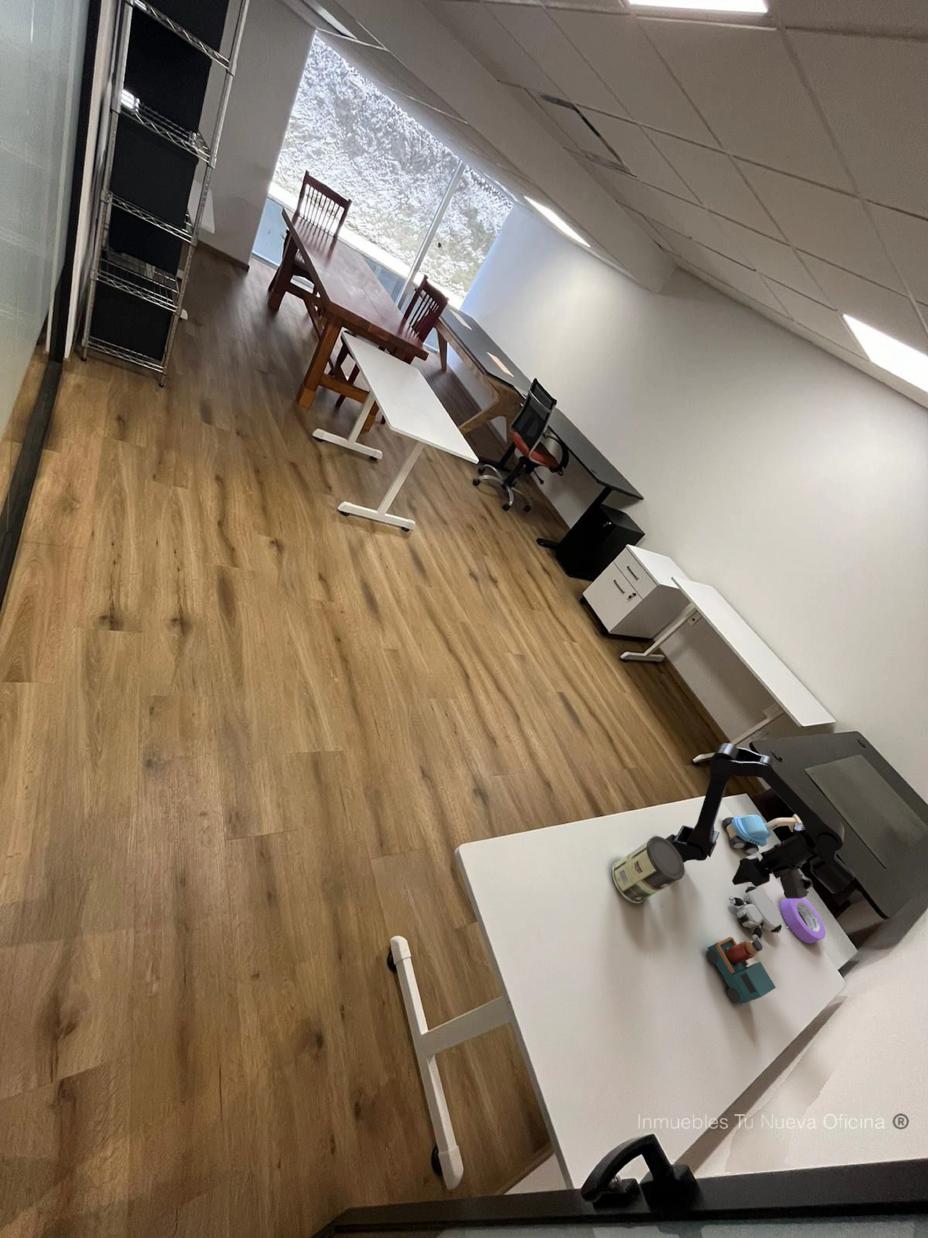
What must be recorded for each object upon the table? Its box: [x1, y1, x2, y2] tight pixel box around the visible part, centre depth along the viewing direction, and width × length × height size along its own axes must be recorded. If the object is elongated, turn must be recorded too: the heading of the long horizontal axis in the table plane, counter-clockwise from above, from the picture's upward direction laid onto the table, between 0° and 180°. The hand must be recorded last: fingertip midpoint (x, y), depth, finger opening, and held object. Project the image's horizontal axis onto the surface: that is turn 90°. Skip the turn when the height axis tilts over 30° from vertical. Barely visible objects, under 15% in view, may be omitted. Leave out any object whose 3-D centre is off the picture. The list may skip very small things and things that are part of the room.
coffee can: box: [611, 835, 686, 904], centre depth 129 cm, size 10×10×14 cm
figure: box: [725, 939, 764, 966], centre depth 125 cm, size 4×4×8 cm
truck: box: [705, 936, 777, 1006], centre depth 126 cm, size 12×7×8 cm, turn 24°
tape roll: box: [780, 897, 826, 944], centre depth 153 cm, size 12×12×4 cm
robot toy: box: [728, 883, 789, 942], centre depth 145 cm, size 12×4×15 cm
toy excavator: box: [721, 813, 803, 855], centre depth 163 cm, size 9×17×17 cm, turn 89°
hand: (742, 879), depth 135 cm, fingers open, 9 cm apart
